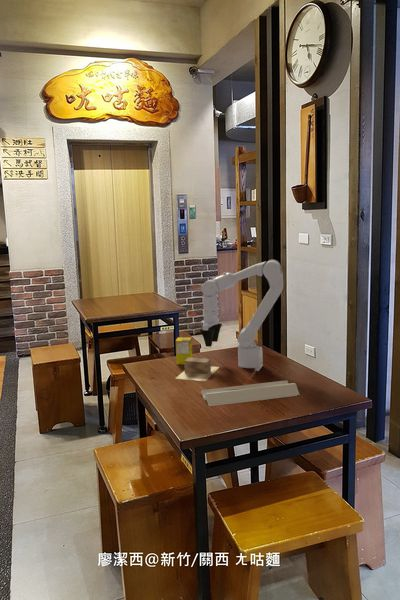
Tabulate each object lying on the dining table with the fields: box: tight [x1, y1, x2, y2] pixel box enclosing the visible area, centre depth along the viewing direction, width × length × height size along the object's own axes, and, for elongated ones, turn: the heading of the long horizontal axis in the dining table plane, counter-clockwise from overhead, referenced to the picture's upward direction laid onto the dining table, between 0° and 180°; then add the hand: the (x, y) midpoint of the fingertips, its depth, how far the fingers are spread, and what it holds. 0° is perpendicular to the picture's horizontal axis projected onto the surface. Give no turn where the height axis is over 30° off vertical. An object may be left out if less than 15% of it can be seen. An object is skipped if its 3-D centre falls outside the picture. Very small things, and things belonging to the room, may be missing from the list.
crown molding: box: [200, 380, 300, 407], centre depth 167 cm, size 31×12×4 cm, turn 103°
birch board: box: [175, 365, 220, 382], centre depth 189 cm, size 12×17×1 cm
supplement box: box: [175, 336, 194, 365], centre depth 202 cm, size 6×6×11 cm
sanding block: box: [183, 357, 212, 375], centre depth 188 cm, size 9×4×5 cm, turn 70°
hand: (211, 343), depth 197 cm, fingers open, 7 cm apart
